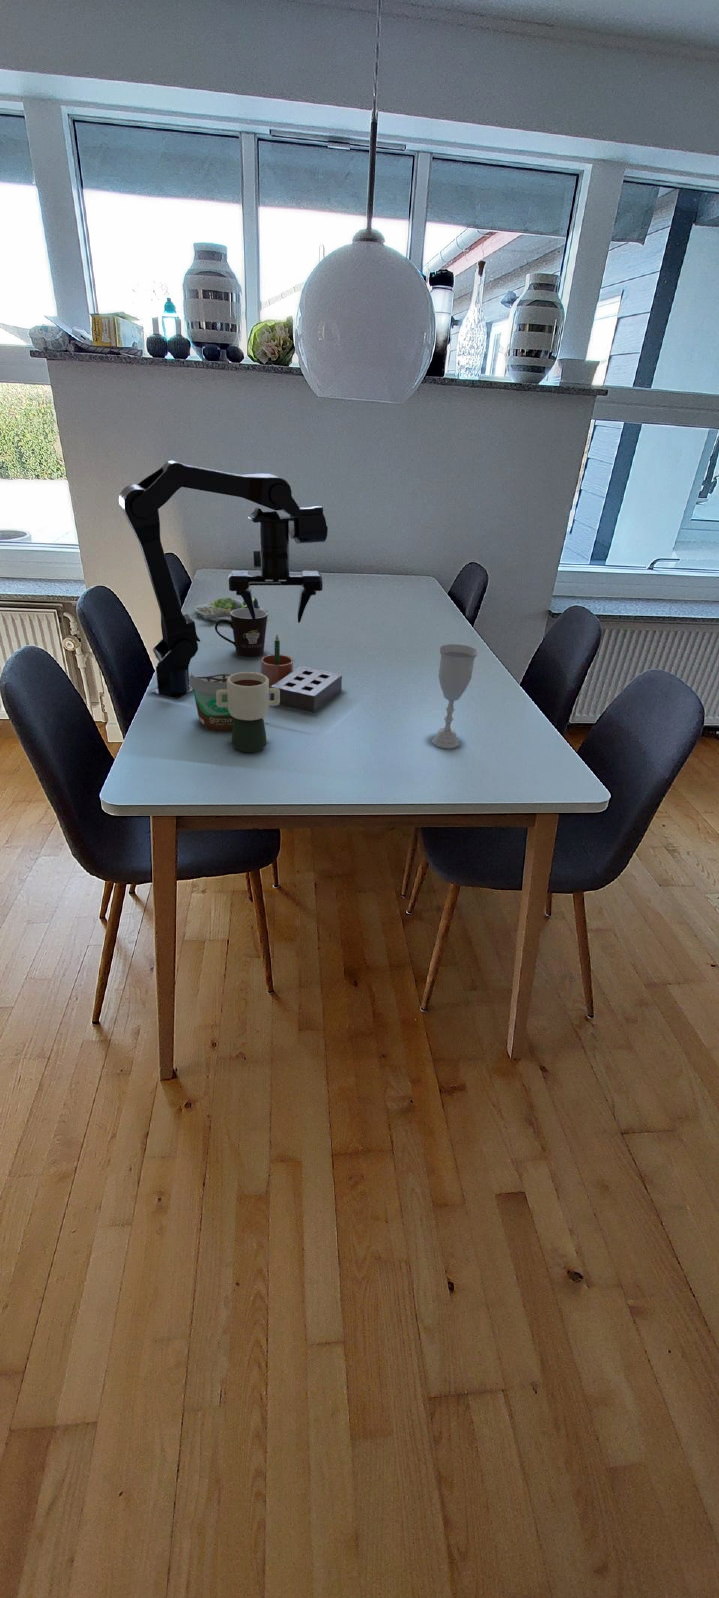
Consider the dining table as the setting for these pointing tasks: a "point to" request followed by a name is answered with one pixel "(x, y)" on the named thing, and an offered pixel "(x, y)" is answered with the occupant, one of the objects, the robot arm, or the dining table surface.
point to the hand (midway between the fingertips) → (276, 622)
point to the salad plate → (222, 608)
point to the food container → (211, 702)
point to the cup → (276, 668)
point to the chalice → (453, 685)
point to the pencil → (277, 650)
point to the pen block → (307, 688)
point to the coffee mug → (247, 631)
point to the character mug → (248, 708)
